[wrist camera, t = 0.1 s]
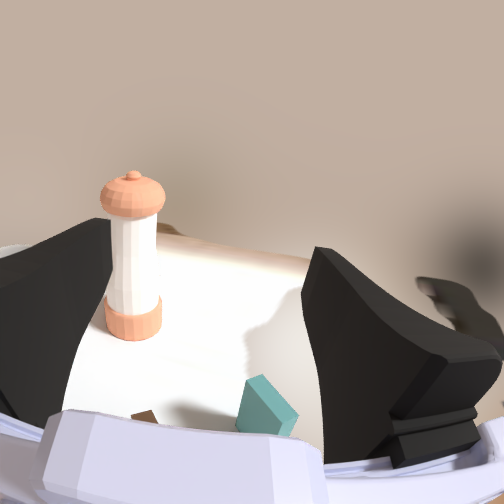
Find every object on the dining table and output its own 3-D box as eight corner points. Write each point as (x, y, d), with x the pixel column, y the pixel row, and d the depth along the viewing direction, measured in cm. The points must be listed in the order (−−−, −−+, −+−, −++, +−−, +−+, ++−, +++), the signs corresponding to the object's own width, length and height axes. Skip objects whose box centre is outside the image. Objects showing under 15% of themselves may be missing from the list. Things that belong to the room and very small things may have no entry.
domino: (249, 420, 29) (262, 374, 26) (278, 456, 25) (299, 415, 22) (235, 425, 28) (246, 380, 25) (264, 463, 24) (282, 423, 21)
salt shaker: (96, 318, 38) (87, 169, 30) (138, 299, 43) (141, 161, 35) (128, 349, 34) (123, 184, 26) (173, 325, 40) (183, 174, 32)
